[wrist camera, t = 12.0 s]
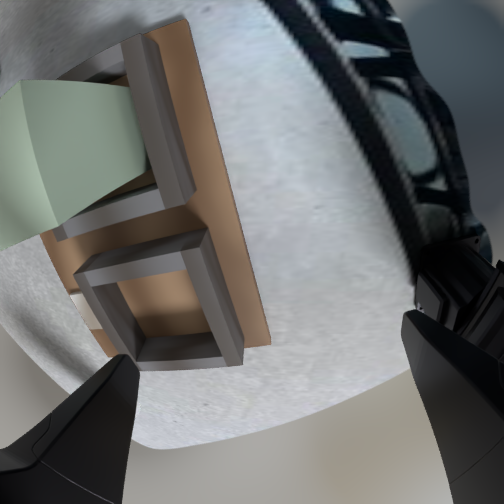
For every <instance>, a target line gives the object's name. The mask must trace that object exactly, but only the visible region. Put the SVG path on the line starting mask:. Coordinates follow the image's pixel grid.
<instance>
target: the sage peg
mask: <svg viewBox="0 0 504 504" xmlns="http://www.w3.org/2000/svg"><path fill="white" fill-rule="evenodd" d="M150 169H152V167H151V163H150V160H149V157H148V153H147V150H146V146H145V143H144V139H143V136H142V132H141V129H140V125H139V121H138V118H137V114H136V110H135V106H134V102H133V98H132V94H131V90H130V87H124V86H117V85H109V84H100V83H90V82H78V81H61V80H19V81H18V82H17V83H16V84H15V85H14V86H13V87H11V88H10V89H9V90H8V91H7V92H6V93H5V94H4V95H3V96H2V97H1V98H0V251H2V250H4V249H6V248H8V247H10V246H13V245H15V244H17V243H19V242H22V241H24V240H26V239H29V238H31V237H33V236H36V235H38V234H40V233H43V232H45V231H48V230H50V229H53V228H55V227H58V226H60V225H61V224H62V223H64V222H65V221H67V220H68V219H70V218H71V217H73V216H74V215H76V214H77V213H79V212H80V211H82V210H83V209H85V208H86V207H88V206H89V205H91V204H92V203H94V202H95V201H97V200H99V199H100V198H102V197H103V196H105V195H107V194H108V193H110V192H112V191H113V190H115V189H117V188H118V187H120V186H122V185H123V184H125V183H127V182H129V181H130V180H132V179H134V178H136V177H137V176H139V175H141V174H143V173H145V172H147V171H148V170H150Z"/></svg>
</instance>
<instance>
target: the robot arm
mask: <svg viewBox="0 0 504 504" xmlns="http://www.w3.org/2000/svg"><path fill="white" fill-rule="evenodd" d="M475 240H476V241H475ZM480 240H481V238H480V236H478V235H477V234H473V235H468V236H464V237H460V238H456V239H452V240H448V241H443V242H439V243H435V244H431V245H426V246H424V247H423V248H422V250H421V260H420V272H419V274H418V280H417V290H416V306H415V307H416V309H414V310H410V311H406V312H405V313H404V314H403V320H402V328H401V338H402V341H403V344H404V347H405V351H406V354H407V357H408V361H409V364H410V368H411V371H412V375H413V378H414V381H415V384H416V386H417V389H418V391H419V394H420V396H421V399H422V401H423V404H424V407H425V409H426V412H427V415H428V417H429V420H430V423H431V426H432V429H433V432H434V435H435V438H436V441H437V444H438V447H439V451H440V454H441V457H442V460H443V464H444V467H445V471H446V475H447V478H448V482H449V486H450V490H451V495H452V498H453V503H454V504H504V262H503V261H501V260H498V262H497V264H496V268H494V267H493V266H492V265H491V264H490V263H489V262H488V261H487V260H486V259H485V258H483V257H482V256H481V255H480V254H479V248H480ZM428 250H429V251H428ZM427 251H428V253H427V254H426V252H427ZM423 311H425V313H426V314H427V315H426V314H424V313H422V312H423ZM139 379H140V372H139V369H138V367H137V366H136V364H135V363H134V362H133V360H132V359H131V357H130V356H129V355H128V354H117V355H116V356H114V357H113V358H112V359H111V360H110V361H109V362H108V363H106V364H105V365H104V366H103V367H102V368H101V369H100V370H98V371H97V372H96V373H95V374H94V375H93V376H92V377H90V378H89V379H88V380H87V381H86V382H85V383H84V384H82V385H81V386H80V387H79V388H78V389H77V390H76V391H74V392H73V393H72V394H71V395H70V396H69V397H68V398H67V399H65V400H64V401H63V402H62V403H61V404H60V405H59V406H58V407H56V408H55V409H54V410H53V411H52V413H50V414H49V415H47V416H46V417H45V418H44V419H43V420H42V421H41V422H40V423H38V424H37V425H36V426H35V427H33V428H32V429H31V430H30V431H28V432H27V433H26V434H24V435H23V436H22V437H20V438H19V439H18V440H16V441H15V442H14V443H12V444H11V445H9V446H8V447H6V448H3V449H0V504H122V498H123V489H124V481H125V474H126V467H127V461H128V454H129V448H130V442H131V437H132V431H133V426H134V420H135V415H136V408H137V398H138V388H139Z"/></svg>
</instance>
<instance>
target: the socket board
mask: <svg viewBox="0 0 504 504" xmlns="http://www.w3.org/2000/svg"><path fill="white" fill-rule="evenodd" d="M56 80H61V81H78V82H90V83H100V84H109V85H117V86H124V87H130V90H131V94H132V98H133V102H134V106H135V110H136V114H137V118H138V121H139V125H140V129H141V132H142V136H143V139H144V143H145V146H146V150H147V153H148V157H149V160H150V163H151V167H152V169H150V170H148V171H147V172H145V173H143V174H141V175H139V176H137V177H136V178H134V179H132V180H130V181H129V182H127V183H125V184H123V185H122V186H120V187H118V188H117V189H115V190H113V191H112V192H110V193H108V194H107V195H105V196H103V197H102V198H100V199H99V200H97V201H95V202H94V203H92V204H91V205H89V206H88V207H86V208H85V209H83V210H82V211H80V212H79V213H77V214H76V215H74V216H73V217H71V218H70V219H68V220H67V221H65V222H64V223H62V224H61V225H60V226H58V227H55V228H53V229H50V230H48V231H45V232H43V233H40V237H41V239H42V241H43V244H44V246H45V248H46V250H47V253H48V255H49V257H50V259H51V261H52V263H53V265H54V267H55V269H56V271H57V273H58V275H59V277H60V279H61V281H62V283H63V285H64V287H65V289H66V291H67V292H68V294H69V296H70V298H71V300H72V301H73V303H74V305H75V307H76V308H77V310H78V312H79V313H80V315H81V317H82V318H83V320H84V322H85V323H86V325H87V326H88V328H89V330H90V331H91V333H92V334H93V336H94V337H95V339H96V340H97V342H98V343H99V345H100V346H101V348H102V349H103V351H104V352H105V353H106V355H107V356H108V357H114V356H116V355H117V354H128V355H129V356H130V357H131V359H132V360H133V362H134V363H135V364H136V366H137V367H138V369H139V371H172V370H192V369H207V368H219V367H230V366H239V365H243V354H244V348H250V347H258V346H265V345H271V336H270V332H269V329H268V325H267V321H266V317H265V314H264V310H263V306H262V302H261V299H260V295H259V291H258V287H257V283H256V280H255V276H254V272H253V268H252V265H251V261H250V257H249V253H248V249H247V246H246V242H245V238H244V234H243V231H242V227H241V223H240V219H239V215H238V212H237V208H236V204H235V200H234V196H233V192H232V189H231V185H230V181H229V177H228V173H227V169H226V166H225V162H224V158H223V154H222V150H221V146H220V143H219V139H218V135H217V131H216V127H215V123H214V119H213V116H212V112H211V108H210V104H209V100H208V96H207V92H206V89H205V85H204V81H203V77H202V73H201V69H200V65H199V61H198V57H197V53H196V50H195V46H194V42H193V38H192V34H191V30H190V26H189V22H188V21H187V20H186V19H183V20H180V21H177V22H175V23H172V24H169V25H166V26H163V27H161V28H158V29H156V30H153V31H151V32H148V33H146V34H143V35H142V34H140V33H139V34H137V35H135V36H133V37H130V38H128V39H126V40H124V41H122V42H120V43H118V44H116V45H114V46H112V47H110V48H108V49H106V50H104V51H102V52H100V53H99V54H97V55H95V56H93V57H91V58H90V59H88V60H86V61H84V62H83V63H81V64H79V65H78V66H76V67H74V68H73V69H71V70H70V71H68V72H67V73H65V74H64V75H62V76H61V77H59V78H58V79H56Z"/></svg>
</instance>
